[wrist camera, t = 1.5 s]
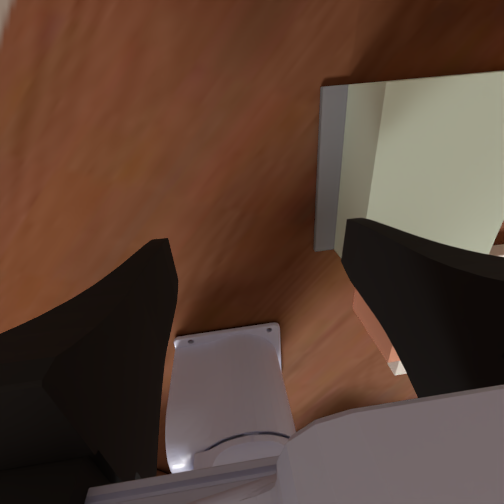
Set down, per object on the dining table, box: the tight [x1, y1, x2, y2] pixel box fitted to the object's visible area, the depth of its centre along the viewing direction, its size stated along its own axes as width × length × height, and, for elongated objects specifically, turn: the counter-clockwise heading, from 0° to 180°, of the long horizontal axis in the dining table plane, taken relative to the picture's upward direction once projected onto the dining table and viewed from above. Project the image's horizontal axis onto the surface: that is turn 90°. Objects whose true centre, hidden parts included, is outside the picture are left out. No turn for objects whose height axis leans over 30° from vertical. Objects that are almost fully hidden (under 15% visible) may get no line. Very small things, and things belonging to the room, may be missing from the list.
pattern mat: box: [314, 70, 504, 252], centre depth 19 cm, size 12×11×1 cm
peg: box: [353, 288, 400, 363], centre depth 22 cm, size 4×4×6 cm
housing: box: [334, 71, 504, 258], centre depth 17 cm, size 9×11×4 cm
